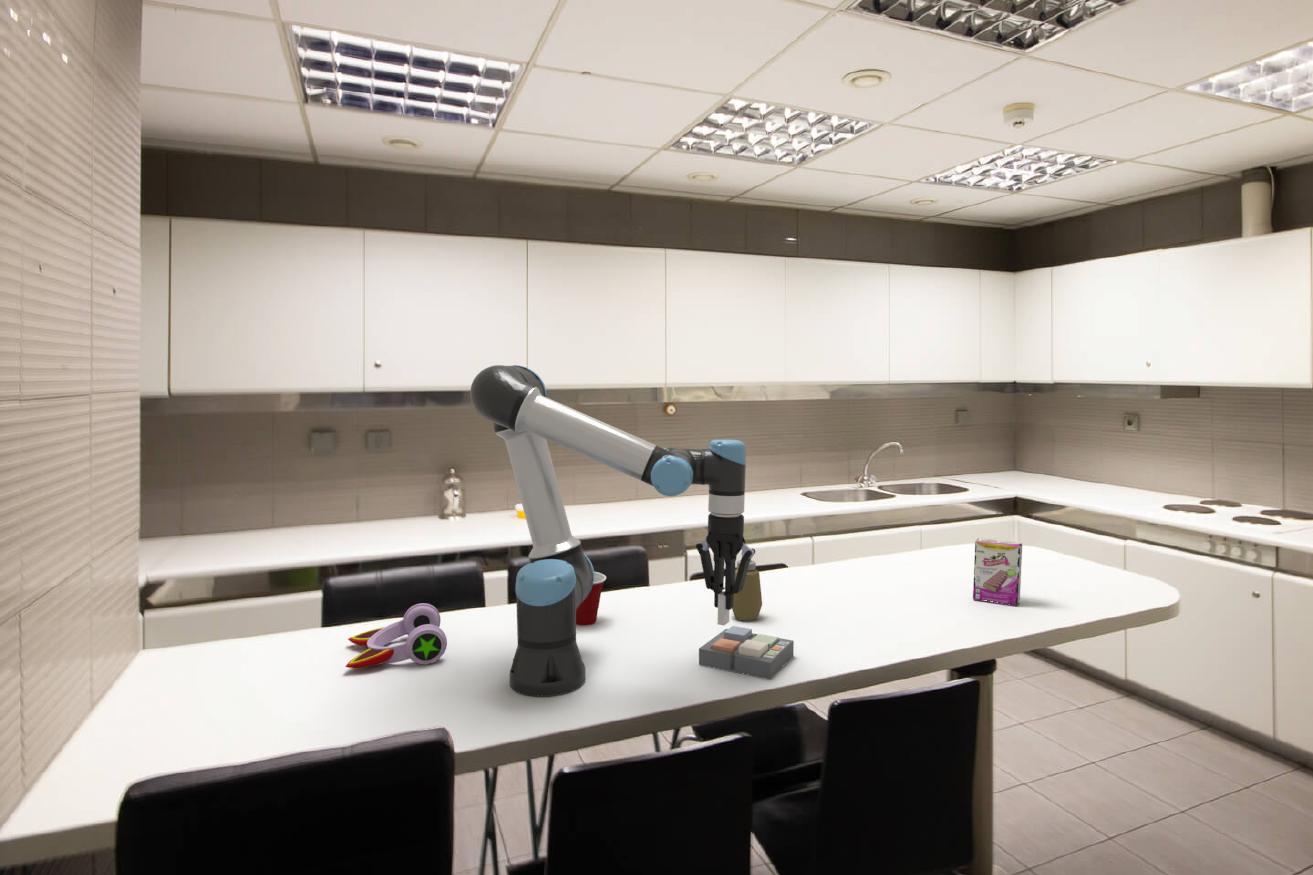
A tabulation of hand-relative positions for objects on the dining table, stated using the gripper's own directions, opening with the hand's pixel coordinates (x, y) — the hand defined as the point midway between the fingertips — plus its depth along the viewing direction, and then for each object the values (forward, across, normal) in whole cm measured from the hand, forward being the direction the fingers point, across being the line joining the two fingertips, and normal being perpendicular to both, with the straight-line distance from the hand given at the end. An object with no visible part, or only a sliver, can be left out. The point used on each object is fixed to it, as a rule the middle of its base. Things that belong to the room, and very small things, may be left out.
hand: (723, 623), depth 155 cm
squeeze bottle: (+9, +7, -30) cm, 32 cm away
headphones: (+11, +66, +30) cm, 73 cm away
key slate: (+7, -1, -7) cm, 9 cm away
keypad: (+9, -4, -4) cm, 10 cm away
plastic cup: (+10, +41, -8) cm, 43 cm away
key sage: (+7, -7, -7) cm, 12 cm away
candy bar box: (+7, -47, -74) cm, 88 cm away
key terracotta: (+7, -1, 0) cm, 7 cm away
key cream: (+6, -7, 0) cm, 9 cm away
